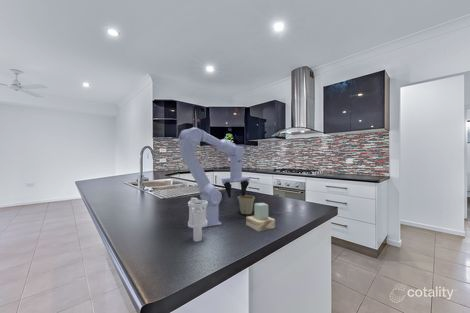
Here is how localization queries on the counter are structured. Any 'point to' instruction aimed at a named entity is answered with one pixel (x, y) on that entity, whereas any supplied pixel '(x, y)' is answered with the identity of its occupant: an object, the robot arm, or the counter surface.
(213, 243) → the counter surface
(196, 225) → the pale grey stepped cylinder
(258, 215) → the sage block
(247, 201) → the flower pot
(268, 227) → the beech base
